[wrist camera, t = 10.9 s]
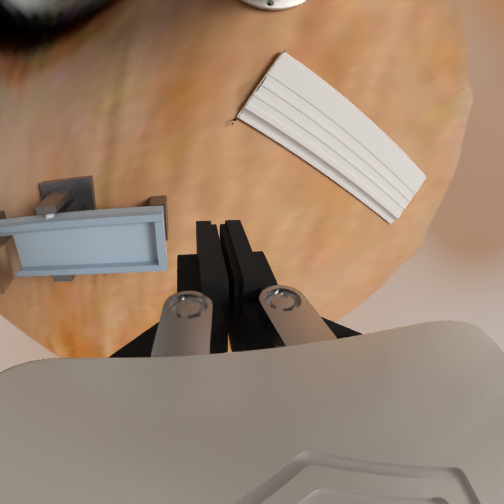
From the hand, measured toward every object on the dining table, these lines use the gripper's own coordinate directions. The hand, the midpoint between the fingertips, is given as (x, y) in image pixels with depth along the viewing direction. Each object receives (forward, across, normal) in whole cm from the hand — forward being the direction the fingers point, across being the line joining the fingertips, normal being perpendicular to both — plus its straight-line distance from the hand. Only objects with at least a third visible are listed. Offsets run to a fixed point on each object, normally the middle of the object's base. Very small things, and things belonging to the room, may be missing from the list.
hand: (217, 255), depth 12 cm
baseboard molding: (+30, -21, +1) cm, 36 cm away
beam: (+22, +18, +10) cm, 30 cm away
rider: (+21, +26, +11) cm, 35 cm away
